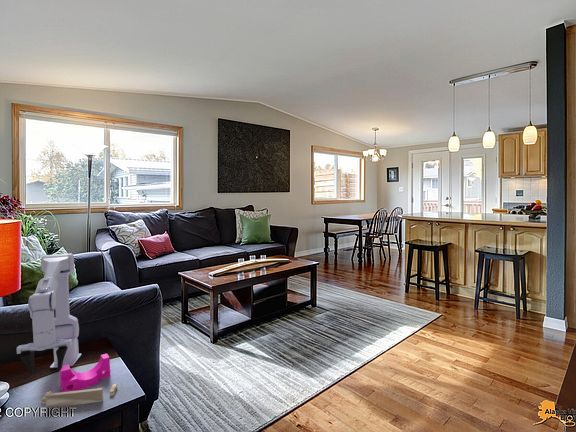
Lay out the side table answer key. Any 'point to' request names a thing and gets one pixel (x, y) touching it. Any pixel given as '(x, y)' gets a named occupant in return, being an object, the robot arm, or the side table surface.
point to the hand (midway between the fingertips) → (46, 371)
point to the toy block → (84, 375)
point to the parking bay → (75, 397)
